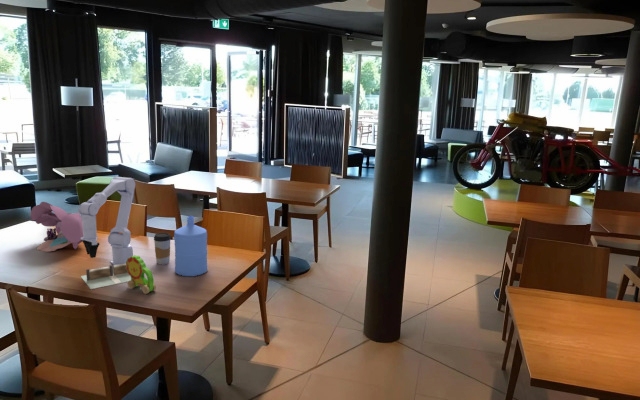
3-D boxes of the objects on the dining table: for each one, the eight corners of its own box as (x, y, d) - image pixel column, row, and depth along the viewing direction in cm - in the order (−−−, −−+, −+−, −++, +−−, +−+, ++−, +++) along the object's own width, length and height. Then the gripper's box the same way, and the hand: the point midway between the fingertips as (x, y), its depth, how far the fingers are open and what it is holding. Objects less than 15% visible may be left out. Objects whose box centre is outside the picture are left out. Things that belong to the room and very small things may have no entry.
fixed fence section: (134, 271, 239) (134, 261, 238) (135, 272, 238) (135, 261, 236) (109, 275, 232) (109, 265, 230) (110, 276, 230) (110, 266, 229)
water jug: (213, 272, 242) (213, 217, 236) (185, 279, 231) (183, 222, 225) (197, 263, 253) (196, 211, 246) (169, 270, 242) (167, 215, 236)
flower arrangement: (22, 255, 267) (4, 208, 256) (55, 236, 287) (40, 192, 277) (73, 258, 256) (56, 209, 245) (103, 238, 276) (89, 192, 266)
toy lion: (157, 291, 217) (156, 259, 213) (147, 295, 212) (145, 262, 209) (133, 282, 225) (132, 251, 221) (123, 286, 220) (122, 254, 217)
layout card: (132, 266, 244) (132, 266, 244) (144, 278, 231) (144, 277, 230) (80, 276, 229) (80, 276, 229) (90, 289, 216) (90, 288, 216)
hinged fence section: (109, 274, 231) (108, 265, 230) (110, 275, 230) (109, 266, 229) (86, 279, 225) (85, 269, 224) (87, 280, 224) (86, 270, 223)
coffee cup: (174, 261, 254) (174, 234, 251) (163, 266, 246) (162, 238, 243) (162, 258, 257) (161, 231, 254) (151, 263, 250) (150, 235, 247)
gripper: (76, 225, 229) (78, 252, 232) (84, 233, 218) (86, 261, 221) (92, 223, 233) (94, 250, 236) (101, 230, 222) (102, 258, 225)
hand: (91, 255), depth 229 cm, fingers open, 5 cm apart
